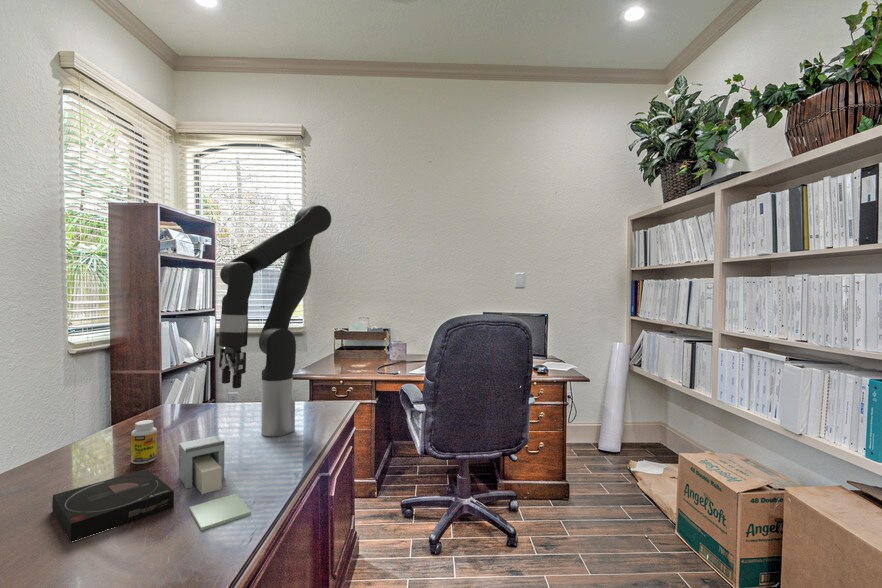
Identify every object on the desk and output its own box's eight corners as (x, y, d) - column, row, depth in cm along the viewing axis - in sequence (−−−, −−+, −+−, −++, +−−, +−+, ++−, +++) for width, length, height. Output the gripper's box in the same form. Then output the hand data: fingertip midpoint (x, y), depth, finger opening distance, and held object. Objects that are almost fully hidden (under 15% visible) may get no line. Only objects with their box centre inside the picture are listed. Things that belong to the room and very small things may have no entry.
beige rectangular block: (209, 474, 105) (209, 454, 105) (221, 489, 97) (221, 467, 97) (190, 479, 102) (190, 459, 102) (201, 494, 95) (202, 472, 95)
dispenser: (215, 467, 108) (215, 432, 108) (224, 478, 102) (224, 441, 102) (179, 476, 103) (179, 439, 103) (186, 488, 97) (186, 449, 97)
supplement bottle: (130, 466, 109) (130, 426, 109) (131, 459, 113) (131, 421, 113) (156, 462, 112) (156, 423, 112) (156, 455, 116) (156, 417, 116)
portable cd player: (146, 485, 100) (146, 468, 100) (173, 509, 89) (173, 490, 89) (52, 513, 87) (52, 494, 87) (70, 546, 76) (70, 523, 76)
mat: (236, 496, 94) (236, 493, 94) (251, 514, 86) (251, 511, 86) (189, 509, 88) (189, 507, 88) (201, 530, 80) (201, 527, 80)
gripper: (256, 331, 123) (253, 388, 122) (237, 328, 133) (235, 380, 132) (229, 332, 117) (226, 391, 117) (211, 328, 127) (208, 383, 127)
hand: (231, 385), depth 125 cm, fingers open, 8 cm apart
